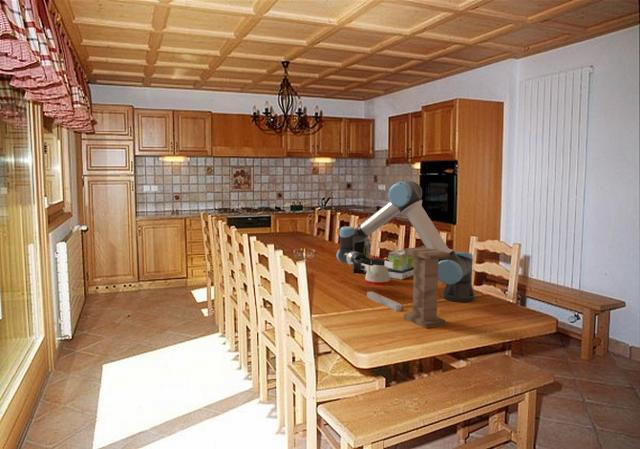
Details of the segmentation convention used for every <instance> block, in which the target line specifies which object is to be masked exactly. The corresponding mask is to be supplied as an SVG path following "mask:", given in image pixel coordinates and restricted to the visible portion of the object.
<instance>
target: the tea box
mask: <svg viewBox="0 0 640 449" xmlns="http://www.w3.org/2000/svg"><path fill="white" fill-rule="evenodd" d="M387 260H389V262H393V263H394V268H393V269H392V268H389V267H387V269H388V272H389V275H390V279H391V278H392V279H397V280H398V279H399V280H403V279H405V278H410V277H412V276H413V277H414V256H413V255H409V254H405V249H398V250H397V249H396V250H394V251H389V252H388V258H387Z"/></svg>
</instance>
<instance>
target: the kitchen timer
mask: <svg viewBox="0 0 640 449" xmlns="http://www.w3.org/2000/svg"><path fill="white" fill-rule="evenodd" d="M370 258H377V259H383V257H382V258H381V255H375V254H374V255H373V257H370ZM364 278H365V279H364V283H366V284H368V285H373V286H386V285H390V283H391V277H390V275H389V272H388V267H385V266H383V265H373V266H370V272H368V271H367V272H365V277H364Z"/></svg>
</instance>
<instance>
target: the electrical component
mask: <svg viewBox="0 0 640 449" xmlns="http://www.w3.org/2000/svg"><path fill="white" fill-rule="evenodd" d="M370 242H371V238H369V237H368V238H367V239H366V240H364V241H362V242H357V243H354V251H355V252H359V253H362V254H364V255H365V256H366V257H367V258H370ZM356 273H358V275H359V274H360V275H361V274H362V275H365V274H366V273H367V271H365V270H362V269H360V270H358V268H357V269H354V268H353V274H356Z"/></svg>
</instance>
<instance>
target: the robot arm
mask: <svg viewBox="0 0 640 449" xmlns="http://www.w3.org/2000/svg"><path fill="white" fill-rule="evenodd" d="M387 196H388V200H389V201H388V203H386V204H385V205H384V206H382V207H381V208H380V209H379V210H377V211H376V212H374V213H373V214H372V215H371V216H369V218H367V219H365V221H363V222H362V223H361V224H359V225H357V227H355V228H354V226H342V227H340V229H339V249H338V250H337V252H336V259H337V260H338V262H340V263H342V264H346V265H348V266H351V267H352V268H353V270H354V269H357V268H358V270H360V269H362V270H365V271H368V272H370V266H373V265H383V266H385V267H387V268H388V267H389V268H392V269H393V268H394V263H393V262H389V260H388V258H386V259H385V258H382V259H381V258H380V259H377V258H376V257H375V258H371V257H369V258H367V257H366V256H365V255H364V254H362V253H359V252H355V251H354V243H357V242H362V241H364V240H366V239H367V238H368V239H369V236H371V235H372V234H373V233H374V232H376V231H377V230H379V229H380V228H381V227H383V226H384V225H385V224H386V223H388V222H389V221H391V220H392V219H393V218H395V217H396V216H397V215H398V214H402V215H405V216H406V218H407V219H408V221H409V222H410V224H411V225H412V227H413V229H414V230H415V231H416V234H417V235H418V237H419V238H420V240H421V241H422V244H423V245H424V247H426V248H431V249H435V250H439V251H444V252H448V253H450V256H449V258H443V259H439V265H438V282H441V283H442V284H444V285H445V286H444V289H443V292H442V298H443V299H444V300H447V301H451V302H455V303H469V302H473V301H475V300H476V299H475V297H476V295H475V291H474V288H473V284H472V283H473V282H472V281H473V280H472V279H473V265H474V264H473V261H474V257H473V254H472V253H471V252H465V251H455V250H454V249H451V248H449V247H448V246H447V244H446V242H445V241H444V239H443V237H442V235H440V233H439V230H438V229H437V228H436V226H435V225H434V223H433V221H432V220H431V218H430V217H429V216H428V214H427V212H426V210H425V209H424V207H423V206H422V204H423V199H422V196H423V189H422V187H421V186H420V184H418V183H417V182H416V181H413V180H411V181H398V182H395V183H394V184H392V185H391V187H390V188H389V190H388V194H387Z"/></svg>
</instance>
